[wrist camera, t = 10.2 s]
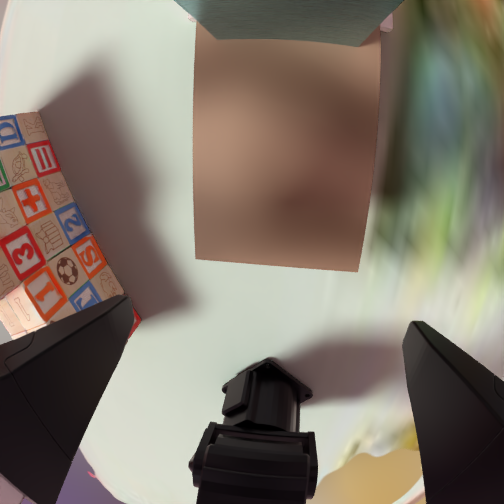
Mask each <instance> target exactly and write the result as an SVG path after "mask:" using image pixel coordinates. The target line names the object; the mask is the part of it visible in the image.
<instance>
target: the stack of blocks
mask: <svg viewBox="0 0 504 504" xmlns="http://www.w3.org/2000/svg"><path fill="white" fill-rule="evenodd" d="M118 294H120V295H125V294H124V290H123V289H122V287H121V285H120V284H119V282H118V280H117V279H116V277H115V275H114V273H113V272H112V270H111V268H110V267H109V265H108V264H107V261H106V260H105V258H104V256H103V254H102V252H101V250H100V248H99V246H98V244H97V243H96V241H95V239H94V237H93V235H92V234H91V233H90V231H89V229H88V227H87V225H86V223H85V221H84V219H83V217H82V215H81V213H80V211H79V209H78V207H77V204H76V203H75V202H74V199H73V196H72V194H71V192H70V190H69V188H68V186H67V184H66V181H65V179H64V177H63V175H62V173H61V168H60V166H59V164H58V161H57V159H56V156H55V154H54V152H53V149H52V147H51V144H50V142H49V139H48V136H47V133H46V130H45V128H44V125H43V122H42V119H41V117H40V114H39V112H30V113H20V114H15V115H8V116H1V117H0V320H1V321H2V323H3V325H4V326H5V328H6V329H7V330H8V332H9V333H10V335H11V337H12V338H13V340H15V339H17V338H19V337H22V336H24V335H26V334H29V333H31V332H33V331H35V332H36V330H38V329H40V328H42V327H44V326H47V325H49V324H51V323H53V322H56V321H58V320H60V319H63V318H65V317H67V316H69V315H72V314H74V313H76V312H79V311H81V310H83V309H85V308H88V307H90V306H92V305H95V304H97V303H99V302H101V301H104V300H106V299H108V298H111V297H113V296H115V295H118ZM132 307H133V306H132ZM133 312H134V324H133V327H132V329H131V332H130V334H129V337H128V339H129V338H130V337H131V335H132V334H133V332H134V331H135V329H136V328H137V327H138V325H139V324H140V322H141V319H140V317H139V316H138V314H137V313H136V311H135V310H134V308H133ZM127 342H128V340H127ZM127 342H126V344H127Z"/></svg>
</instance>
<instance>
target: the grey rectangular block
mask: <svg viewBox="0 0 504 504" xmlns="http://www.w3.org/2000/svg"><path fill="white" fill-rule="evenodd" d="M174 1H175V2H176V3H178V4H179V5H180V6H181V7H182V8H183V9H184V10H186V11H187V12H188V13H189V14H190V15H191V16H192V17H193V18H194V19H196V20H197V21H198V22H199V23H200V24H201V25H202V26H203V27H204V28H205V29H206V30H207V31H208V32H209V33H210V34H211V35H213V36H214V37H215V38H216V39H217V40H228V39H278V40H297V41H310V42H321V43H330V44H339V45H346V46H353V47H359V46H360V45H361V43H362V42H363V41H364V40H365V39H366V38H367V37H368V36H369V35H370V34H371V33H372V32H373V31H374V30H375V29H376V28H377V27H378V26H379V25H380V24H381V23H382V22H383V21H384V20H385V19H386V18H387V17H388V16H389V15H390V14H391V13H392V12H393V11H394V10H395V9H396V8H397V7H398V6H399V5H400V4H401V3H402V2H403V1H404V0H174Z"/></svg>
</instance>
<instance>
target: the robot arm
mask: <svg viewBox="0 0 504 504" xmlns="http://www.w3.org/2000/svg"><path fill="white" fill-rule="evenodd" d="M133 324H134V312H133V307H132V302H131V298H130V297H129V296H127V295H120V294H118V295H115V296H113V297H111V298H108V299H106V300H104V301H101V302H99V303H97V304H95V305H92V306H90V307H88V308H85V309H83V310H81V311H79V312H76V313H74V314H72V315H69V316H67V317H65V318H63V319H60V320H58V321H56V322H53V323H51V324H49V325H47V326H44V327H42V328H40V329H38V330H36V332H35V331H33V332H31V333H29V334H26V335H24V336H22V337H19V338H17V339H15V340H12V341H9V342H7V343H4V344H1V345H0V504H21V503H22V501H23V499H24V498H26V499H27V500H28V501H30V502H32V503H33V504H55V503H56V501H57V498H58V495H59V493H60V491H61V488H62V486H63V483H64V480H65V478H66V476H67V473H68V471H69V468H70V466H71V464H72V462H71V461H73V459H74V456H75V454H76V451H77V449H78V447H79V445H80V442H81V440H82V438H83V436H84V433H85V431H86V429H87V427H88V425H89V422H90V420H91V418H92V416H93V414H94V412H95V410H96V407H97V405H98V403H99V401H100V399H101V397H102V395H103V393H104V391H105V389H106V387H107V384H108V382H109V380H110V378H111V376H112V374H113V372H114V370H115V368H116V366H117V364H118V362H119V360H120V358H121V355H122V353H123V350H124V348H125V345H126V342H127V340H128V337H129V334H130V332H131V329H132V327H133ZM402 348H403V356H404V363H405V371H406V380H407V387H408V393H409V397H410V402H411V407H412V412H413V417H414V422H415V427H416V433H417V438H418V444H419V450H420V456H421V464H422V471H423V479H424V487H425V496H426V502H427V503H426V504H504V381H502V380H501V379H500V378H499V377H497V376H496V375H495V376H494V374H493V373H492V372H491V371H490V370H488V369H487V368H486V367H484V366H483V365H482V364H480V363H479V362H478V361H476V360H475V359H474V358H472V357H471V356H470V355H469V354H467V353H466V352H465V351H463V350H462V349H460V348H459V347H458V346H456V345H455V344H454V343H452V342H451V341H450V340H448V339H447V338H446V337H444V336H443V335H442V334H440V333H439V332H437V331H436V330H435V329H433V328H432V327H431V326H429V325H428V324H426V323H425V322H424V321H412V322H410V324H409V326H408V329H407V332H406V335H405V337H404V340H403V345H402ZM266 364H268V365H266ZM222 392H223V393H225V394H226V396H225V400H224V404H223V408H222V414H223V415H224V416H225V417H224V421H223V424H217V423H216V422H210V424H209V426H208V428H206V429H205V432H204V434H203V437H202V439H201V441H200V444H199V446H198V448H197V451H196V453H195V454H194V455H193V457H192V458H191V460H190V461H189V466H188V467H189V469H190V470H191V471H192V475H193V485H194V487H199V489H198V496H197V502H196V504H306V499H312V498H313V496H314V493H315V490H316V485H317V477H318V460H317V451H316V442H315V433H314V432H308V433H307V432H299V428H300V403H302V402H304V401H306V400H308V399H310V398H311V397H312V396H313V393H312V391H311V390H310V389H309V388H307V387H306V386H305V385H303V384H302V383H301V382H299V381H298V380H297V379H295V378H294V377H293V376H291V375H290V374H289V373H287V372H286V371H285V370H283V369H282V368H281V367H279V366H278V365H277V364H275V363H274V362H273V361H271V360H269V359H266V360H263V361H262V362H260V363H259V364H257V365H256V366H254V367H252V368H251V369H249V370H246V371H244V372H243V373H241V374H239V375H238V376H236V377H235V378H233V379H231V380H230V381H229V382H228V383H226V384H225V385H223V387H222Z"/></svg>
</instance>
